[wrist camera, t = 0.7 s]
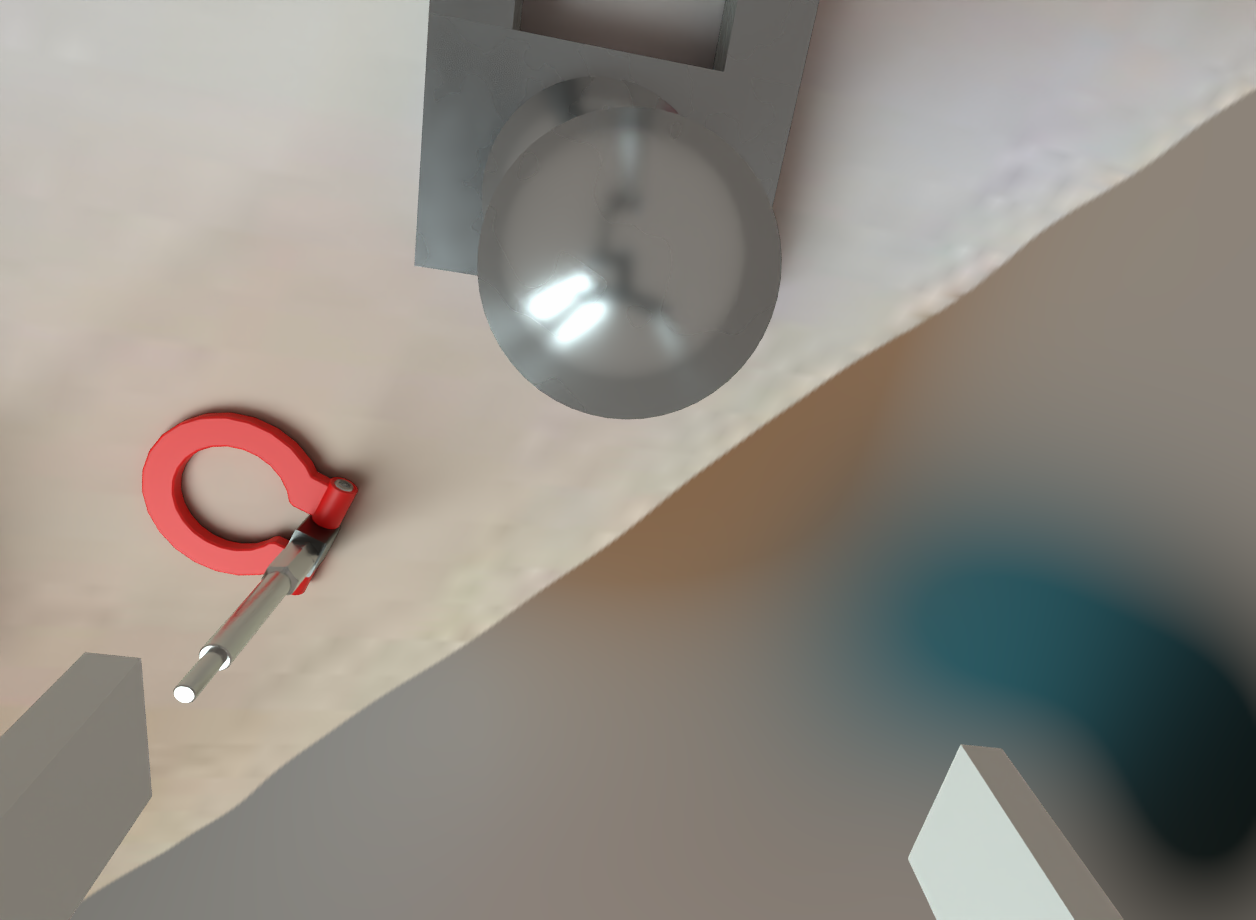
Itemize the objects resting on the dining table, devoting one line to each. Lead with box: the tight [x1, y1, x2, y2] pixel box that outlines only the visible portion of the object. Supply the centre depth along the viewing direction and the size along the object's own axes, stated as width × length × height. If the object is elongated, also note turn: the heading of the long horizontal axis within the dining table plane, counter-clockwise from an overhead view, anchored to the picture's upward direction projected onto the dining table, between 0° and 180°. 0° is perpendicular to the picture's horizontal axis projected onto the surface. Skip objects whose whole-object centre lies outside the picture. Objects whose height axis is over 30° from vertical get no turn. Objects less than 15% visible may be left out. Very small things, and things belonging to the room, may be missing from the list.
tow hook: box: [142, 413, 358, 703], centre depth 30 cm, size 8×13×9 cm
